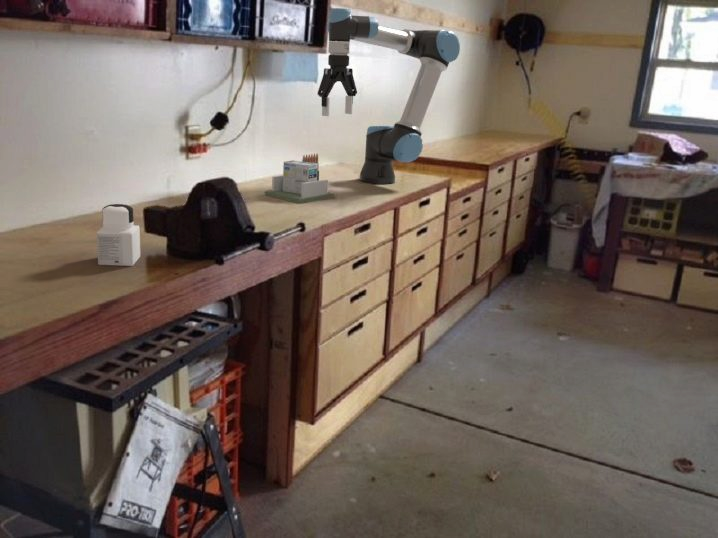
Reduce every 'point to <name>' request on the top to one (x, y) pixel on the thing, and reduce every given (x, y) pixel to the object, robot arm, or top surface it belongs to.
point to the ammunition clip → (312, 161)
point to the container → (118, 237)
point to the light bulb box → (298, 175)
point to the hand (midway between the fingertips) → (337, 115)
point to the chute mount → (308, 191)
